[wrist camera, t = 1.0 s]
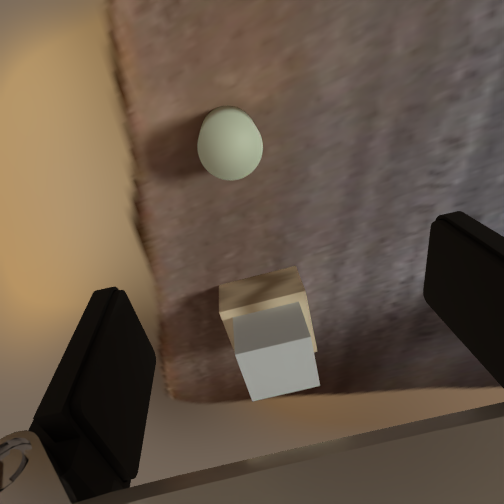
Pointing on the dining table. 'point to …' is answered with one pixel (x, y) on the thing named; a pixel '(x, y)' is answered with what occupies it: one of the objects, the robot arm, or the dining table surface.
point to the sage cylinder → (229, 143)
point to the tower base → (263, 297)
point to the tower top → (275, 351)
